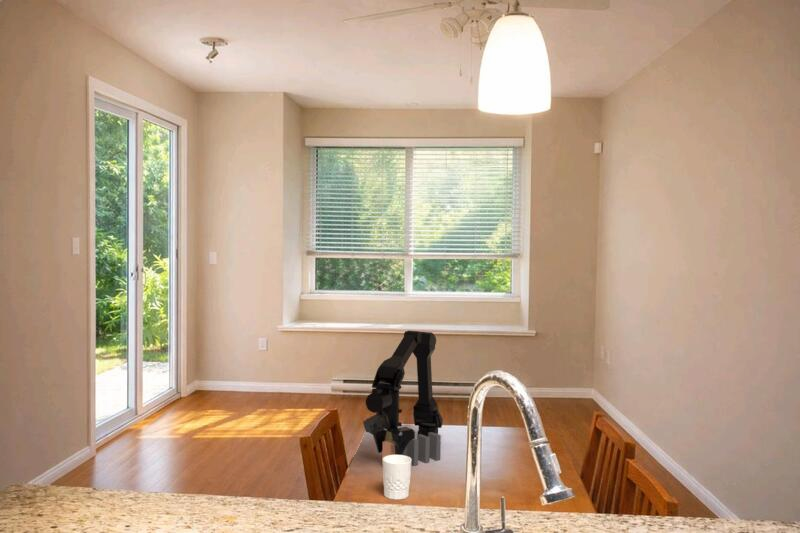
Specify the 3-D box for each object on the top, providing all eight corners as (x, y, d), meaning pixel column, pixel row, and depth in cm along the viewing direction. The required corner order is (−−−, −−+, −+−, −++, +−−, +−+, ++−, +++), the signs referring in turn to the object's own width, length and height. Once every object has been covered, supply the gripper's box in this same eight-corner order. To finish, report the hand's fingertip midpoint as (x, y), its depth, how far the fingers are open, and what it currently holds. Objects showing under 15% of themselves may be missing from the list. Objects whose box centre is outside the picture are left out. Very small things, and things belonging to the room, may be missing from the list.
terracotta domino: (386, 466, 209) (386, 440, 209) (394, 470, 205) (395, 444, 205) (382, 467, 208) (382, 441, 208) (390, 471, 204) (391, 445, 204)
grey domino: (420, 458, 217) (421, 434, 217) (429, 462, 214) (429, 437, 213) (416, 459, 216) (417, 434, 216) (425, 463, 213) (425, 438, 212)
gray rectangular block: (431, 456, 220) (431, 432, 220) (440, 460, 216) (440, 435, 216) (427, 457, 219) (428, 432, 219) (436, 460, 215) (436, 436, 215)
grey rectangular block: (409, 461, 214) (409, 436, 214) (418, 465, 211) (418, 439, 211) (405, 462, 213) (405, 437, 213) (413, 466, 210) (414, 440, 210)
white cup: (400, 502, 180) (401, 465, 179) (376, 496, 184) (377, 460, 183) (416, 494, 186) (416, 458, 186) (392, 488, 190) (392, 452, 190)
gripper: (350, 402, 209) (349, 453, 209) (385, 415, 194) (384, 469, 194) (380, 398, 215) (379, 447, 216) (416, 410, 201) (415, 462, 201)
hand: (388, 456), depth 207 cm, fingers open, 9 cm apart
